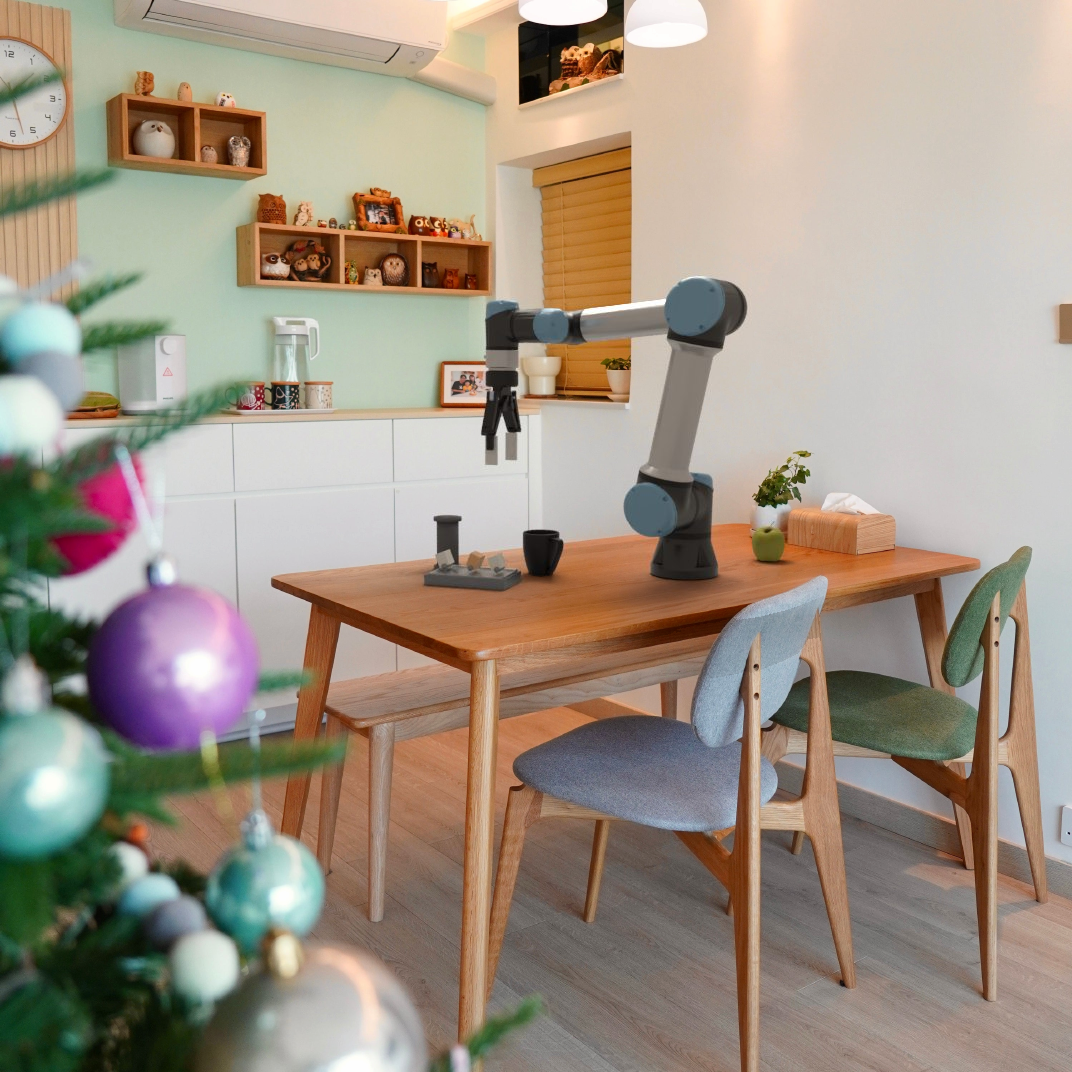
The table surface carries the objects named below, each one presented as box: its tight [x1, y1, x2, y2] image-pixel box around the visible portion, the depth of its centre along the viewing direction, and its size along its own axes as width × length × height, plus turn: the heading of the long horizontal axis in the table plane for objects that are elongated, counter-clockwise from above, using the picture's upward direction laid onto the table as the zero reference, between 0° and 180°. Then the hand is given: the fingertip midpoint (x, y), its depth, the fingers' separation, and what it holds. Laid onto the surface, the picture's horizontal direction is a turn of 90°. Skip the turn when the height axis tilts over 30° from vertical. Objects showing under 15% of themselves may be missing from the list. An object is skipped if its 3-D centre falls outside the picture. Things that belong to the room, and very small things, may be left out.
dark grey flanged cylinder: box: [433, 514, 463, 570], centre depth 244 cm, size 6×6×12 cm
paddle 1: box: [434, 549, 454, 569], centre depth 230 cm, size 2×4×4 cm, turn 161°
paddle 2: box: [486, 552, 508, 573], centre depth 226 cm, size 2×4×4 cm, turn 161°
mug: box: [522, 529, 565, 577], centre depth 237 cm, size 8×12×10 cm
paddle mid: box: [465, 550, 486, 571], centre depth 228 cm, size 2×4×4 cm, turn 163°
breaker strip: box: [423, 564, 522, 591], centre depth 229 cm, size 18×11×3 cm, turn 72°
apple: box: [751, 521, 786, 562], centre depth 257 cm, size 8×8×10 cm
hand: (501, 462), depth 247 cm, fingers open, 13 cm apart
